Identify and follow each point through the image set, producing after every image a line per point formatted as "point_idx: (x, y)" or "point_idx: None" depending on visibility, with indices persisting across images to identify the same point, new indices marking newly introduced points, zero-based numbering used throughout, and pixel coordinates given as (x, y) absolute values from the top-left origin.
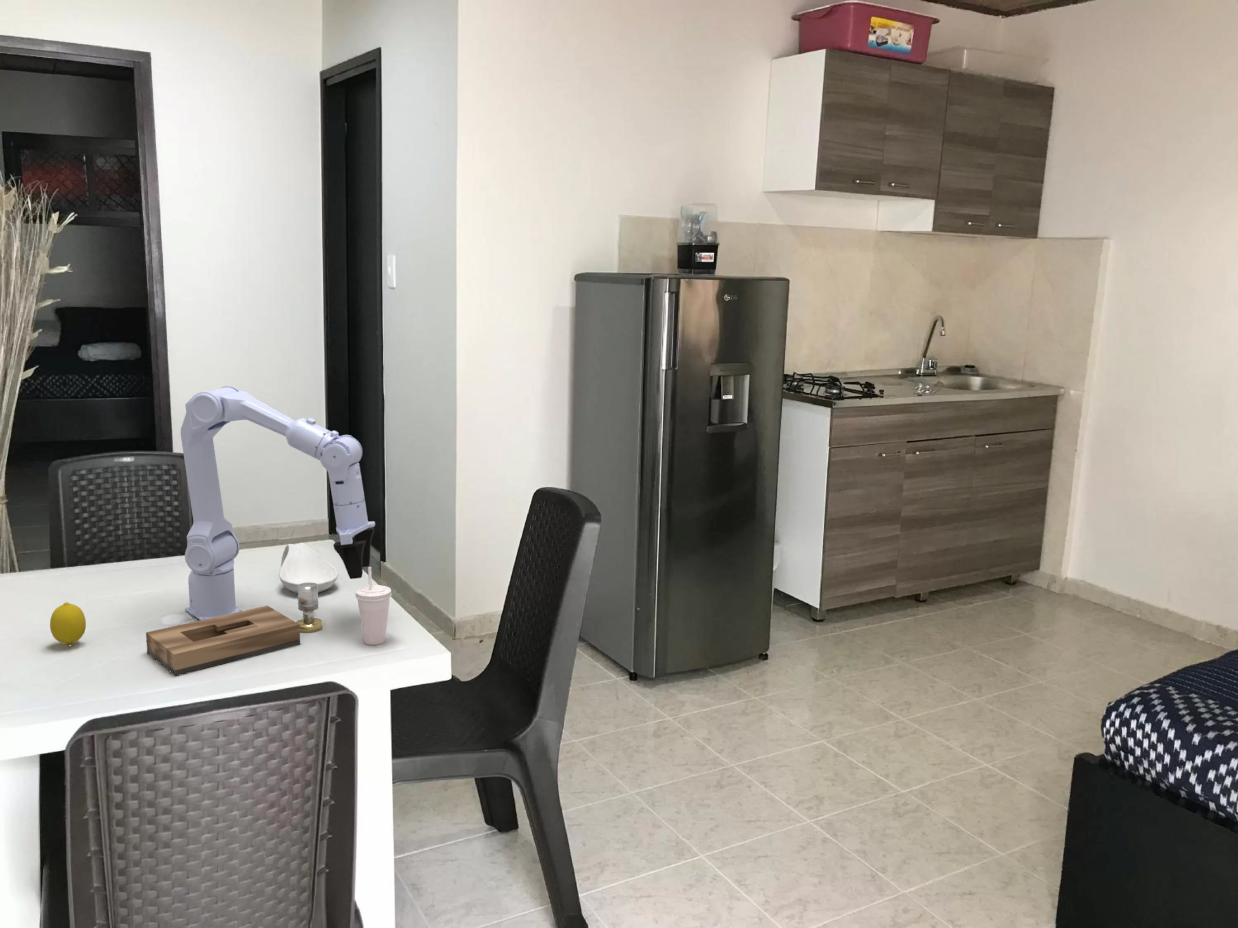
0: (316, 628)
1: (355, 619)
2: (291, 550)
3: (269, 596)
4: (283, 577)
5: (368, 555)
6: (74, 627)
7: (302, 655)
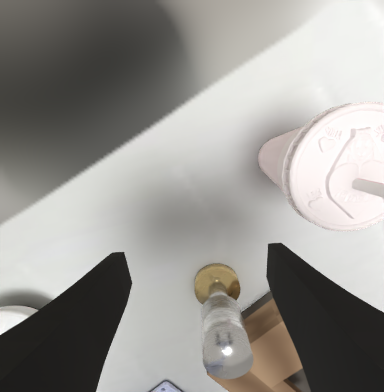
0: (231, 271)
1: (165, 221)
2: None
3: None
4: None
5: (101, 280)
6: None
7: (340, 258)
